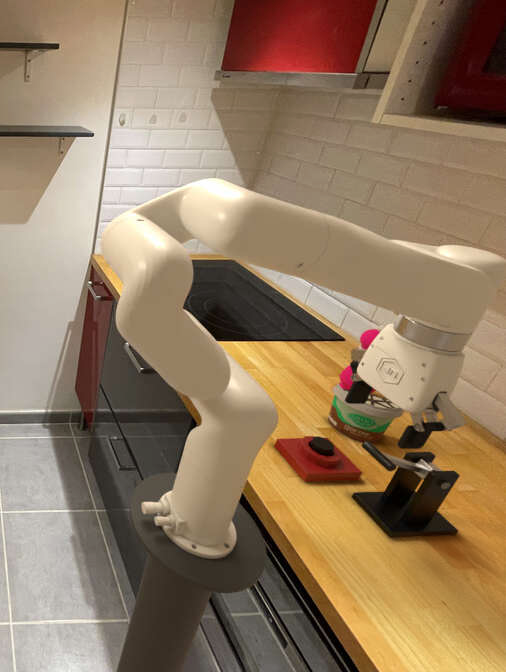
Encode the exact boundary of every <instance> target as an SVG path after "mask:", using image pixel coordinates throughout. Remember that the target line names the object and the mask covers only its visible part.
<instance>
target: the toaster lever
mask: <svg viewBox="0 0 506 672" xmlns="http://www.w3.org/2000/svg"><path fill="white" fill-rule="evenodd" d="M361 447H362V449H364V450H365V451H366V452H367V453H368V454H369V455H370V456H372V458H373V459H374V460H376V461H377V462H378V463H379V464H380V465H381V466H382V467H383V468H384V469H385V470H386V471H387V472H393V471H396V470H397V468H398V467H402V468H405V469H409V470H412V471H414V472H415V473H416V474H417V475H418V476H420V477H421V478H422V481H424V479H425V477H426V476H427V474H428V472H429V471H443V470H442V469H441V468H440V467H439V466H437V464H435V463H433V462H432V463H431V462H428V461H425V460H422V459H421V460H420V461H419V462H418V463H414V462H410V461H407V460H404V459H403V458H400V457H397V456H394V455H390V454H387V453H384V452H381V450H379V449H378V448H377V447H376V446H375V445H374V443H370V442H368V441H367V442H362V444H361Z"/></svg>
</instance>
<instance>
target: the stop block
mask: <svg viewBox="0 0 506 672" xmlns="http://www.w3.org/2000/svg"><path fill="white" fill-rule="evenodd" d="M313 437H316V436H315V435H305V436H304V437H295V438H294V437H293V438H292V437H291V438H276V440H275V443H274V448H275V450H276V451H277V452H278V453H279V454H280V455H281V457H282V458H283V459H284V460H285V461H286V462H287V463H288V464H289V466H290V467H291V468H292V469H293V471H295V472H296V474H297V475H298V476H299V477H300V478H301V480H302V481H303V482H304V483H311V482H312V483H313V482H345V481H346V482H348V481H350V482H351V481H360V479H361V476H362V475H363V471H362V470H361V469H360V468H359V467H358V466H357V465H356V464H355V463H354V462H353V461H351V459H350V458H349V457H348V456H347V455H346V454H344V452H343V451H342V450H341V449H340V448H339V447H337V445H335V444H334V443H333V445H334V450H333V452H332V454H331V456H323V455H320V454H318V453H316V452H315V451H313V450H312V449H311V448H310V443H311V441H312V438H313ZM324 438H325V439H327V440H329V441H330V442H332V441H331V440H330V439H329V438H328V437H324Z"/></svg>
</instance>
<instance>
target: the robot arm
mask: <svg viewBox="0 0 506 672" xmlns="http://www.w3.org/2000/svg"><path fill="white" fill-rule="evenodd" d="M193 239H195V240H197V241H198V242H199V243H201V244H202V245H204V246H205V247H207V248H208V249H210V250H211V251H212V252H214V253H216V254H218V255H220V256H222V257H224V258H227V259H231V260H234V261H238V262H241V263H244V264H248V265H251V266H255V267H259V268H262V269H266V270H270V271H274V272H277V273H281V274H284V275H287V276H292V277H295V278H298V279H302V280H305V281H308V282H309V283H312V284H315V285H317V286H320V287H322V288H325V289H328V290H330V291H333V292H336V293H339V294H342V295H345V296H348V297H351V298H354V299H357V300H360V301H362V302H365V303H367V304H371V305H373V306H376V307H379V308H381V309H384V310H386V311H390V312H392V313H393V314H394V315H395V316H397V317H396V319H395V321H394V323H388V324H387V325H385V326H386V327H385V328H384V329H383V330H382V331H381V332H380V333H379V334H378V335H377V337H376V338H375V339H374V341H373V342H372V343H371V345H370V346H369V348H368V350H365V349H358V348H351V349H350V360H351V362H350V364H349V365H350V366H351V370H352V373H353V374H352V375H351V380H352V381H353V384H352V386H351V388H350V390H349V392H348V394H347V396H346V398H345V402H347V403H348V404H365V403H366V401H367V399H368V397H369V395H370V394H372V393H371V391H372V389H373V388H374V389H375V390H376V391H375V392H377V393H379V395H381V396H383V398H385V399H388V400H389V401H391V402H392V403H393V404H395V405H396V406H398V407H399V408H400V409H402V410H404V412H406V413H408V414H410V417H411V422H412V424H408V425H407V426H406V428H405V429H404V431H403V432H402V434H401V436H400V438H399V439H398V441H397V443H396V444H397V447H398V448H400V449H402V450H405V449H407V450H408V449H409V450H419V449H422V448H423V447H424V446H425V444H426V443H427V441H428V440H429V438H430V436H431V435H432V434H433V432H451V431H453V430H456V429H458V428H461V427H464V426H466V424H467V421H466V420H465V418H464V417H463V415H462V414H461V413H460V411H459V410H458V408H457V407H456V405H455V404H454V403H453V401H452V400H451V396H452V394H453V393H454V390H455V388H456V385H457V384H458V381H459V378H460V376H461V373H462V369H463V368H464V367H463V366H464V362H465V358H466V355H465V353H463V350H464V349H465V347H466V345H467V344H468V342H469V340H470V339H471V337H472V335H473V334H474V332H475V331H476V329H477V327H478V325H479V323H480V322H481V320H482V318H483V317H484V315H485V314H486V311H487V310H488V309H489V307H490V306H491V304H492V302H493V301H494V298H495V296H496V295H497V293H498V291H499V290H500V288H501V287H502V285H503V283H504V282H505V280H506V258H504V257H503V256H501V255H498V254H496V253H494V252H492V251H487V250H485V249H480V248H476V247H471V246H465V245H459V244H457V245H456V244H444V245H439V246H436V245H428V244H423V243H416V242H413V241H412V242H411V241H406V240H401V239H389V238H386V237H384V236H381V235H379V234H378V233H375V232H373V231H372V230H369V229H366V228H364V227H362V226H360V225H358V224H355V223H352V222H349V221H347V220H345V219H342V218H339V217H337V216H334V215H332V214H331V215H330V214H326V213H323V212H319V211H317V210H314V209H309V208H307V207H303V206H299V205H296V204H292V203H289V202H287V201H285V200H284V201H283V200H280V199H277V198H273V197H270V196H267V195H266V194H265V195H264V194H262V193H258V192H255V191H253V190H250V189H247V188H245V187H241V186H240V185H238V184H234V183H231V182H229V181H227V180H225V179H221V178H213V177H212V178H204V179H200V180H198V181H194V182H190V183H188V184H186V185H183V186H181V187H177V188H176V189H174V190H173V189H172V190H171V191H168V192H167V193H164V194H162V195H160V196H158V197H156V198H153V199H150V200H149V201H147V202H145V203H142V204H140V205H138V206H136V207H133V208H131V209H129V210H127V211H125V212H123V213H121V214H120V215H118V216H115V218H113V219H112V220H111V221H110V222H109V223H108V224H107V225H106V226H105V228H104V230H103V231H102V234H101V236H100V240H99V248H100V253H101V255H102V257H103V259H104V261H105V263H106V264H107V265H108V266H109V267H110V268H111V270H112V271H113V273H115V275H116V276H117V278H118V279H119V280H120V283H122V289H121V293H120V297H119V300H118V302H117V306H116V311H115V325H116V329H117V331H118V333H119V334H120V335H121V337H122V338H123V339H124V340H125V341H126V342H127V343H128V345H130V346H131V347H132V348H133V349H134V350H135V351H136V352H137V353H138V354H139V356H141V358H142V359H143V360H144V361H145V362H146V363H147V364H148V365H149V366H150V367H151V368H152V369H154V371H156V373H158V374H159V376H160V377H161V379H163V380H164V381H165V383H167V384H168V386H169V387H171V388H172V389H174V390H175V391H176V392H178V393H180V394H181V395H184V396H186V397H188V399H189V400H190V401H191V402H192V405H193V407H195V409H196V410H197V412H198V413H199V416H200V418H201V423H200V425H199V426H196V427H194V428H193V429H191V430H190V432H189V433H188V435H187V438H186V440H185V444H184V447H183V451H182V455H181V459H180V461H179V466H178V469H177V472H176V473H177V476H176V479H175V483H174V486H173V490H172V491H169V492H167V493H166V494H164V495H163V496H162V498H161V499H160V500H159V501H158V502H142V504H141V507H142V511H143V513H144V514H155V513H157V514H158V517H155V518H154V520H155V524H156V525H157V526H161V527H162V528H163V530H164V531H165V533H166V534H167V536H168V537H169V538H170V539H171V540H172V541H173V542H174V543H176V544H177V545H178V546H179V547H181V548H182V549H184V550H185V551H187V552H189V553H191V554H193V555H196V556H199V557H202V558H208V559H218V558H222V557H225V556H226V555H228V554H229V553H230V552H231V551H232V550H233V548H234V546H235V543H236V539H237V538H236V530H235V526H234V524H233V522H232V518H233V516H234V513H235V510H236V508H237V505H238V503H239V502H240V500H241V497H242V494H243V492H244V489H245V486H246V484H247V480H248V479H249V475H250V473H251V470H252V467H253V466H254V463H255V460H256V458H257V457H258V454H259V453H260V451H261V449H262V448H263V446H264V445H265V443H266V442H267V441H268V440H269V438H270V437H271V436H272V435H273V433H274V432H275V430H276V428H277V426H278V423H279V412H278V410H277V406H276V404H275V402H274V400H273V399H272V397H271V396H270V395H269V394H268V392H267V391H266V390H265V389H264V387H263V386H261V385H260V383H259V382H258V381H257V380H256V379H255V378H254V377H253V376H252V375H251V374H250V373H249V372H248V371H247V370H245V368H243V366H242V365H241V364H240V363H238V361H237V360H235V358H234V357H232V355H231V354H230V353H229V352H228V351H227V350H226V349H225V348H224V347H223V346H222V345H221V344H220V343H219V341H217V340H216V339H215V337H214V336H213V335H212V334H211V333H210V331H208V330H207V329H206V327H205V326H203V324H201V322H200V321H199V320H198V319H197V318H196V317H195V316H194V315H193V314H192V313H191V312H189V311H187V310H186V309H184V305H185V303H186V300H187V297H188V295H189V293H190V292H191V288H192V286H193V281H194V265H193V260H192V258H191V256H190V253H189V252H188V251H187V249H186V248H185V247H184V246H183V244H185V243H187V242H189V241H191V240H193ZM423 413H424V415H423ZM439 413H440V414H441V415H442V416H443V418H442V419H440V420H439V417H438V414H439ZM424 417H425V420H426V421H425V420H424Z"/></svg>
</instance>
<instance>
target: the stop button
mask: <svg viewBox="0 0 506 672" xmlns="http://www.w3.org/2000/svg"><path fill="white" fill-rule="evenodd" d="M325 438H326V437H322V436H315V437H313V438H312V441H311V443H310V448H311V449H312V450H313V451H315V452H316V453H318V454H320V455H323V456H331V454H332V452H333V450H334V445H335V444H334V442H332V441H331V440H330V439H329V440H330V441H331V442H330V441H329V440H327V439H325ZM333 444H334V445H333Z"/></svg>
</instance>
